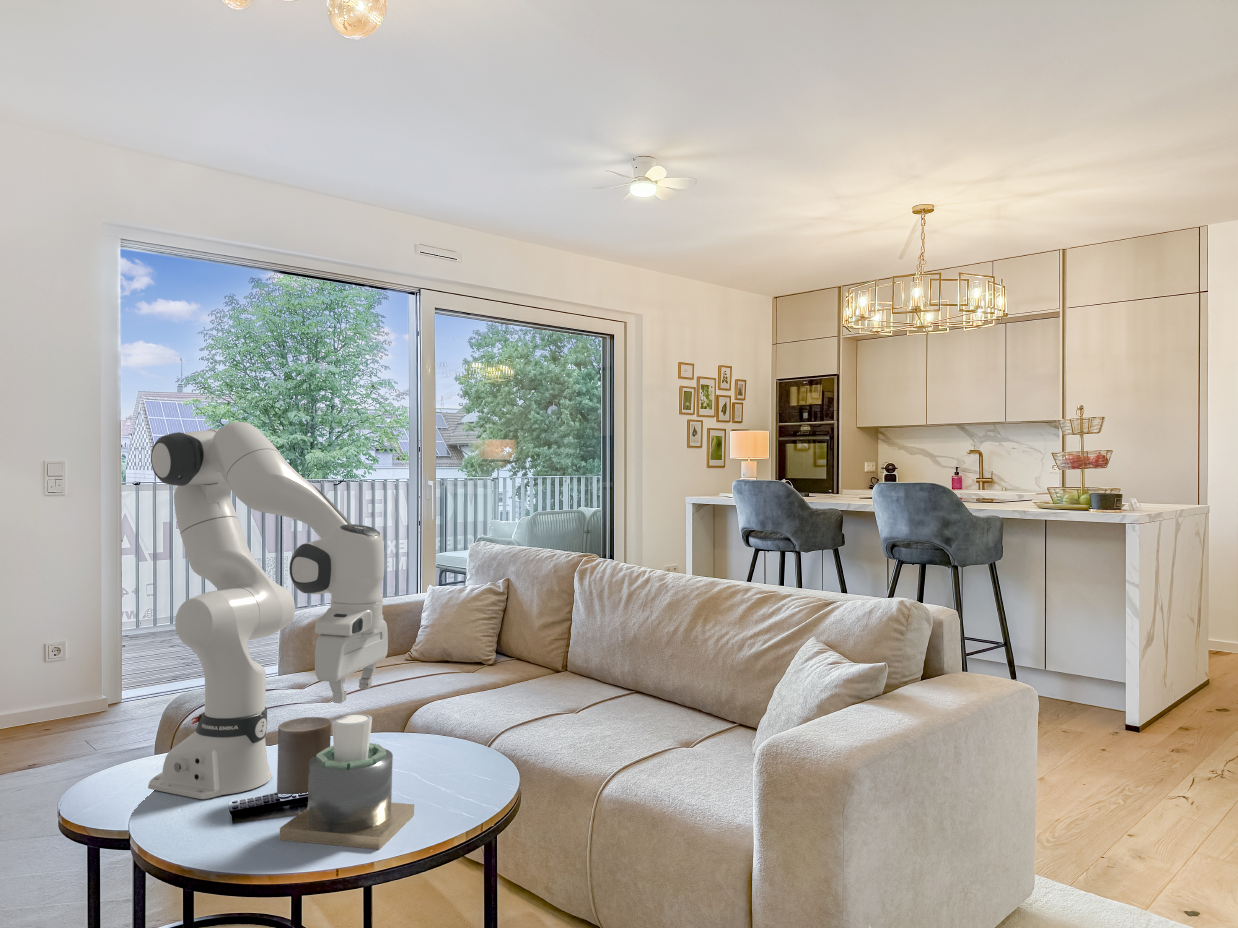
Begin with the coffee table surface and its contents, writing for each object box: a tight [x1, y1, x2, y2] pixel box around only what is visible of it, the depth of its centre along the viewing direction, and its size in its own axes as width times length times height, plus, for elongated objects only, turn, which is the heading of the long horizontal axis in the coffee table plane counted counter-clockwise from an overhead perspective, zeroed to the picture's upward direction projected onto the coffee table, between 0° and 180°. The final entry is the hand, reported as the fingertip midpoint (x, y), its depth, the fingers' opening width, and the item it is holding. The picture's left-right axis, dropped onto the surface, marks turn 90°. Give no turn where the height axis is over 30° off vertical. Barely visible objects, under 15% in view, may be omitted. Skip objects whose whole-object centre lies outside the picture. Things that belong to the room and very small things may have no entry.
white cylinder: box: [331, 713, 373, 762], centre depth 140 cm, size 7×7×7 cm
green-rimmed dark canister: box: [279, 742, 415, 850], centre depth 140 cm, size 18×14×13 cm
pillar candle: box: [276, 716, 332, 795], centre depth 154 cm, size 10×10×15 cm
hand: (352, 694), depth 140 cm, fingers open, 8 cm apart
